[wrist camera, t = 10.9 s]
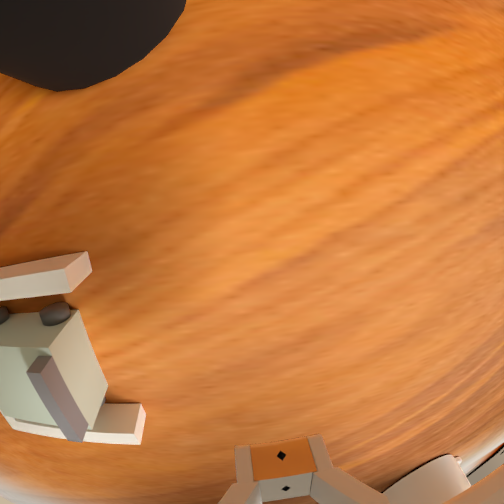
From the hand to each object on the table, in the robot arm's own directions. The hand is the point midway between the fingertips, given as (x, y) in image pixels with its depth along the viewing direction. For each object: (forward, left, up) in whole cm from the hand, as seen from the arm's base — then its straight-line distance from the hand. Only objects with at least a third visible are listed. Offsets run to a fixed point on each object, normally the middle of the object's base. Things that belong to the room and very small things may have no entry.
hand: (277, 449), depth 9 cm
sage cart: (0, +14, -9) cm, 17 cm away
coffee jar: (+20, +6, -9) cm, 23 cm away
